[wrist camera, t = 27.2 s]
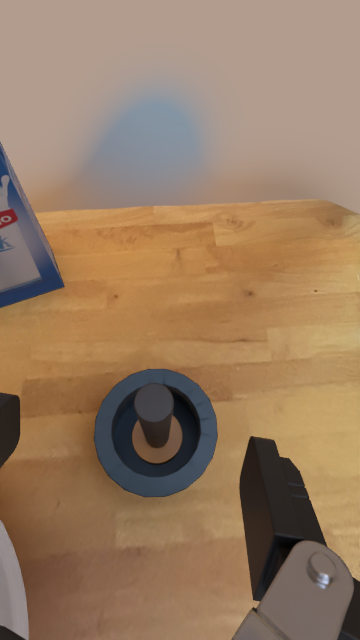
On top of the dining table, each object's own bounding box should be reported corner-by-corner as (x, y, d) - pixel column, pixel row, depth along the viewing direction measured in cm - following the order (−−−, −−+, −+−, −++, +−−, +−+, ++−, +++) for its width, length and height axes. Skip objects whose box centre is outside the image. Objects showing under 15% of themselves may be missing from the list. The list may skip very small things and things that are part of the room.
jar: (202, 393, 37) (213, 368, 29) (207, 492, 33) (221, 495, 25) (113, 393, 37) (99, 369, 29) (106, 494, 32) (88, 498, 24)
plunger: (180, 416, 35) (195, 360, 19) (181, 464, 33) (199, 448, 17) (135, 416, 35) (112, 360, 19) (133, 465, 33) (106, 449, 17)
